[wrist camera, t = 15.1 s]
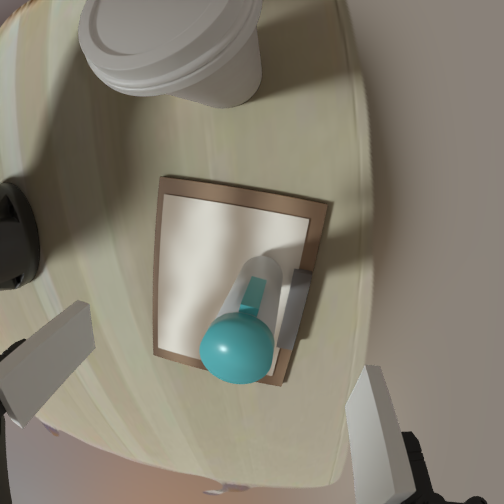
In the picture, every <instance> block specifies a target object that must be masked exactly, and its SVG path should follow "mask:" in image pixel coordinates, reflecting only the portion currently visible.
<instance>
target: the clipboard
mask: <svg viewBox="0 0 504 504" xmlns="http://www.w3.org/2000/svg"><path fill="white" fill-rule="evenodd" d="M327 206H328V204H325V203H321V202H316V201H311V200H306V199H301V198H296V197H290V196H285V195H280V194H274V193H269V192H263V191H257V190H252V189H246V188H240V187H233V186H227V185H221V184H214V183H207V182H200V181H193V180H186V179H178V178H171V177H160V181H159V191H158V202H157V214H156V228H155V245H154V267H153V352H154V355H155V356H159V357H162V358H165V359H168V360H172V361H175V362H178V363H182V364H185V365H189V366H192V367H196V368H200V369H204V370H207V371H208V369H207V368H206V367H205V366H204V364H203V362H202V360H201V358H200V352H199V349H200V344H201V341H202V339H203V337H204V335H205V333H206V332H207V330H208V328H209V326H210V324H211V323H212V322H213V321H214V320H215V318H216V317H217V315H218V313H219V311H220V309H221V307H222V305H223V303H224V301H225V299H226V297H227V296H228V294H229V292H230V290H231V288H232V286H233V284H234V282H235V280H236V278H237V277H238V275H239V273H240V271H241V269H242V267H243V265H244V264H245V263H246V262H247V261H248V260H249V259H251V258H253V257H256V256H265V257H269V258H271V259H273V260H274V261H276V262H277V263H278V264H279V266H280V268H281V270H282V273H283V280H282V287H281V294H280V301H279V308H278V315H277V322H276V328H275V335H274V342H275V346H274V353H273V360H272V365H271V368H270V370H269V372H268V373H267V374H266V375H265V376H264V377H263V378H261V379H260V380H258V381H256V382H260V383H265V384H270V385H275V386H282V383H283V379H284V376H285V373H286V370H287V366H288V363H289V359H290V356H291V353H292V350H293V347H294V343H295V340H296V336H297V332H298V329H299V325H300V321H301V318H302V314H303V310H304V306H305V303H306V299H307V295H308V291H309V287H310V283H311V279H312V273H313V269H314V265H315V261H316V257H317V252H318V248H319V243H320V239H321V234H322V230H323V225H324V220H325V216H326V211H327Z"/></svg>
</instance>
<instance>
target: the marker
mask: <svg viewBox="0 0 504 504" xmlns="http://www.w3.org/2000/svg"><path fill="white" fill-rule="evenodd" d="M282 280H283V273H282V270H281V268H280V266H279V264H278V263H277V262H276V261H274V260H273V259H271V258H269V257H265V256H256V257H253V258H251V259H249V260H248V261H247V262H246V263H245V264H244V265H243V267H242V269H241V271H240V273H239V275H238V277H237V278H236V280H235V282H234V284H233V286H232V288H231V290H230V292H229V294H228V296H227V297H226V299H225V301H224V303H223V305H222V307H221V309H220V311H219V313H218V315H217V317H216V318H215V320H214V321H213V322H212V323H211V324H210V326H209V328H208V330H207V332H206V333H205V335H204V337H203V339H202V341H201V344H200V349H199V352H200V358H201V360H202V362H203V364H204V366H205V367H206V368H207V369H208V371H209V372H211V373H212V374H213V375H214V376H216V377H217V378H219V379H221V380H223V381H226V382H229V383H234V384H248V383H253V382H256V381H258V380H260V379H261V378H263V377H264V376H265V375H266V374H267V373H268V372H269V370H270V368H271V365H272V360H273V353H274V346H275V342H274V335H275V328H276V322H277V315H278V308H279V301H280V294H281V287H282Z"/></svg>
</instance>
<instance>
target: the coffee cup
mask: <svg viewBox="0 0 504 504" xmlns="http://www.w3.org/2000/svg"><path fill="white" fill-rule="evenodd" d="M261 9H262V0H87V1H86V3H85V5H84V8H83V10H82V13H81V16H80V21H79V27H78V37H79V43H80V46H81V49H82V51H83V53H84V54H85V56H86V59H87V62H88V64H89V65H90V67H91V69H92V70H93V72H94V73H95V74H96V75H97V77H98V78H99V79H101V80H102V81H103V82H104V83H105V84H106V85H107V86H109V87H110V88H112V89H114V90H116V91H118V92H120V93H123V94H127V95H132V96H157V95H163V94H168V95H172V96H176V97H180V98H183V99H187V100H190V101H194V102H197V103H201V104H204V105H207V106H211V107H214V108H231V107H235V106H238V105H240V104H242V103H244V102H246V101H247V100H248V99H250V98H251V97H252V96H253V95H254V93H255V92H256V91H257V89H258V87H259V85H260V83H261V79H262V65H261V58H260V50H259V42H258V34H257V27H256V25H257V22H258V20H259V17H260V13H261Z"/></svg>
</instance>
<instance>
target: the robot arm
mask: <svg viewBox="0 0 504 504" xmlns="http://www.w3.org/2000/svg"><path fill="white" fill-rule="evenodd" d="M38 263H39V239H38V232H37V227H36V223H35V219H34V216H33V213H32V210H31V208H30V205H29V203H28V201H27V199H26V198H25V196H24V195H23V193H22V192H21V191H20V190H19V189H18V188H17V187H16V186H15V185H13V184H11V183H1V184H0V291H2V290H12V289H17V288H20V287H22V286H23V285H25V284H27V283H29V282H30V281H31V280H32V279H33V278H34V276H35V274H36V271H37V268H38ZM94 349H95V342H94V336H93V329H92V322H91V314H90V305H89V304H88V303H85V302H83V301H80V300H77V301H76V302H74V303H73V304H72V305H70V306H69V307H68V308H66V309H65V310H64V311H63V312H61V313H60V314H59V315H57V316H56V317H55V318H53V319H52V320H51V321H50V322H48V323H47V324H46V325H45V326H43V327H42V328H41V329H40V330H38V331H37V332H36V333H35V334H33V335H32V336H31V337H30V338H28V339H27V340H26V339H22V340H20V341H18V342H15V343H14V344H13V345H11V346H10V347H9V348H8V350H5V351H4V352H3V353H2V355H0V504H12V500H11V494H10V487H9V479H8V470H7V459H6V442H5V418H4V416H3V415H4V413H5V412H7V413H8V415H9V417H10V419H11V420H12V421H13V422H14V423H16V424H17V425H18V426H20V427H21V428H22V429H23V428H24V427H25V426H26V425H27V424H28V422H29V421H30V420H31V419H32V418H33V417H34V415H35V414H36V413H37V412H38V411H39V410H40V408H41V407H42V406H43V405H44V404H45V403H46V402H47V400H48V399H49V398H50V397H51V396H52V395H53V394H54V393H55V391H56V390H57V389H58V388H59V387H60V386H61V385H62V384H63V383H64V381H65V380H66V379H67V378H68V377H69V376H70V375H71V374H72V373H73V372H74V370H75V369H76V368H77V367H78V366H79V365H80V364H81V363H82V362H83V361H84V360H85V359H86V358H87V356H88V355H89V354H90V353H91V352H92V351H93V350H94ZM345 410H346V417H347V424H348V432H349V440H350V448H351V456H352V465H353V475H354V485H355V496H356V504H487V502H486V501H485V500H484V499H483V498H481V497H479V496H474V497H471V498H469V499H468V500H467V501H466V502H464V503H456V502H447V501H445V500H444V498H443V497H442V496H441V495H439V494H437V493H434V491H433V489H432V485H431V482H430V478H429V475H428V470H427V467H426V464H425V461H424V457H423V453H421V451H422V450H421V447H420V444H419V441H418V439H417V438H416V437H415V435H414V434H413V433H412V432H401V430H400V427H399V423H398V420H397V417H396V413H395V410H394V407H393V404H392V400H391V397H390V394H389V391H388V388H387V385H386V382H385V379H384V376H383V373H382V370H381V367H380V366H374V365H365V366H364V368H363V370H362V372H361V374H360V376H359V379H358V381H357V383H356V385H355V387H354V389H353V391H352V393H351V395H350V397H349V399H348V401H347V403H346V405H345Z"/></svg>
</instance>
